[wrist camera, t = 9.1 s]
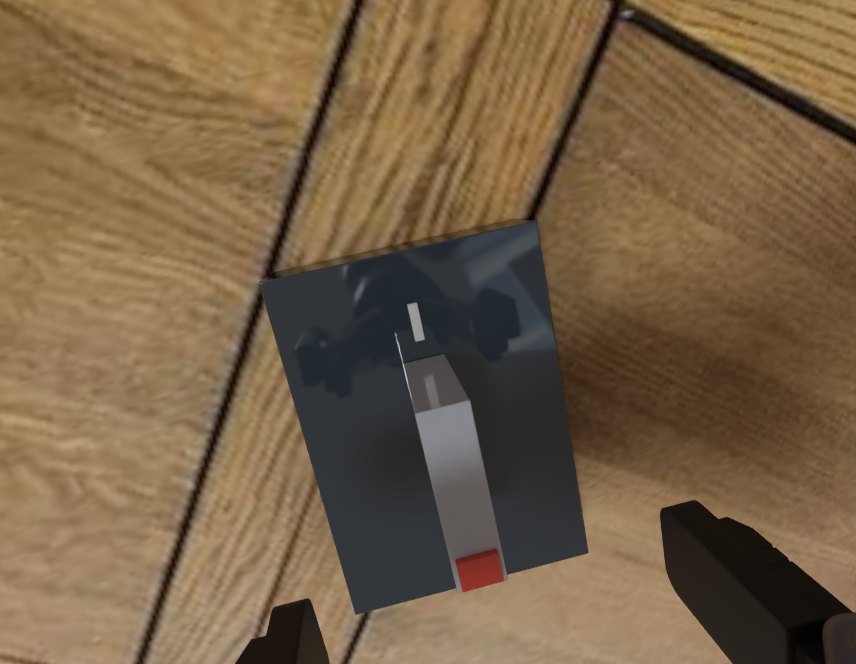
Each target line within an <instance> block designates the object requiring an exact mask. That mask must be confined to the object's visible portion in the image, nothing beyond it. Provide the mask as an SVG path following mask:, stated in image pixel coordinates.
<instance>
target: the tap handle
mask: <svg viewBox="0 0 856 664" xmlns="http://www.w3.org/2000/svg"><path fill="white" fill-rule="evenodd" d="M403 369H404V373H405V377H406V381H407V385H408V390H409V394H410V398H411V402H412V406H413V410H414V414H415V419H416V423H417V427H418V431H419V435H420V439H421V444H422V448H423V452H424V456H425V460H426V464H427V469H428V473H429V477H430V481H431V485H432V489H433V494H434V498H435V502H436V506H437V510H438V514H439V518H440V523H441V527H442V531H443V535H444V539H445V543H446V547H447V552H448V556H449V560H450V564H451V568H452V572H453V576H454V580H455V585H456V589H457V591H458V592H459V593H460V592H466V591H469V590H473V589H477V588H480V587H484V586H488V585H491V584H495V583H499V582H502V581H504V580H507V578H508V577H507V572H506V567H505V562H504V558H503V553H502V548H501V543H500V539H499V534H498V529H497V525H496V520H495V515H494V510H493V506H492V501H491V496H490V491H489V487H488V482H487V477H486V472H485V468H484V463H483V458H482V453H481V449H480V444H479V439H478V434H477V430H476V425H475V420H474V415H473V411H472V406H471V401H470V400H469V398H468V396H467V394H466V392H465V390H464V389H463V387H462V385H461V383H460V381H459V380H458V378H457V376H456V374H455V372H454V370H453V369H452V367H451V365H450V363H449V361H448V360H447V358H446V356H445V354H441V355H437V356H433V357H429V358H425V359H421V360H417V361H412V362H408V363H404V364H403Z"/></svg>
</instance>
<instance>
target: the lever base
mask: <svg viewBox="0 0 856 664" xmlns="http://www.w3.org/2000/svg"><path fill="white" fill-rule="evenodd" d="M259 284H260V288H261V291H262V295H263V298H264V301H265V305H266V308H267V312H268V315H269V319H270V322H271V326H272V329H273V332H274V336H275V339H276V343H277V346H278V350H279V353H280V357H281V360H282V363H283V367H284V370H285V374H286V377H287V381H288V384H289V388H290V391H291V394H292V398H293V401H294V405H295V408H296V412H297V415H298V419H299V422H300V425H301V429H302V432H303V436H304V439H305V443H306V446H307V449H308V453H309V456H310V460H311V463H312V467H313V470H314V474H315V477H316V480H317V484H318V487H319V491H320V494H321V498H322V501H323V505H324V508H325V511H326V515H327V518H328V522H329V525H330V529H331V532H332V536H333V539H334V542H335V546H336V549H337V553H338V556H339V560H340V563H341V567H342V570H343V573H344V577H345V580H346V584H347V587H348V591H349V594H350V597H351V601H352V604H353V608H354V611H355V614H356V615H357V614H361V613H365V612H368V611H372V610H376V609H380V608H383V607H387V606H391V605H395V604H399V603H402V602H406V601H410V600H414V599H417V598H421V597H425V596H429V595H433V594H436V593H440V592H444V591H448V590H451V589H455V588H456V585H455V580H454V576H453V572H452V568H451V564H450V560H449V556H448V552H447V547H446V543H445V539H444V535H443V531H442V527H441V523H440V518H439V514H438V510H437V506H436V502H435V498H434V494H433V489H432V485H431V481H430V477H429V473H428V469H427V464H426V460H425V456H424V452H423V448H422V444H421V439H420V435H419V431H418V427H417V423H416V419H415V414H414V410H413V406H412V402H411V398H410V394H409V390H408V385H407V381H406V377H405V373H404V369H403V364H404V363H408V362H412V361H417V360H421V359H425V358H429V357H433V356H437V355H441V354H445V356H446V358H447V360H448V361H449V363H450V365H451V367H452V369H453V370H454V372H455V374H456V376H457V378H458V380H459V381H460V383H461V385H462V387H463V389H464V390H465V392H466V394H467V396H468V398H469V400H470V401H471V406H472V411H473V415H474V420H475V425H476V430H477V434H478V439H479V444H480V449H481V453H482V458H483V463H484V468H485V472H486V477H487V482H488V487H489V491H490V496H491V501H492V506H493V510H494V515H495V520H496V525H497V529H498V534H499V539H500V543H501V548H502V553H503V558H504V562H505V567H506V572H507V575H508V574H512V573H516V572H519V571H523V570H527V569H531V568H534V567H538V566H542V565H546V564H549V563H553V562H557V561H561V560H565V559H568V558H572V557H576V556H580V555H583V554H587V553H588V546H587V540H586V533H585V527H584V520H583V514H582V508H581V501H580V495H579V488H578V482H577V476H576V469H575V463H574V456H573V450H572V444H571V437H570V431H569V424H568V418H567V412H566V405H565V399H564V392H563V386H562V380H561V373H560V367H559V360H558V354H557V348H556V341H555V335H554V328H553V322H552V315H551V309H550V303H549V296H548V290H547V283H546V277H545V271H544V264H543V258H542V251H541V245H540V239H539V232H538V226H537V221H533V220H518V219H512V220H508V221H503V222H498V223H494V224H489V225H485V226H480V227H476V228H471V229H467V230H462V231H458V232H453V233H449V234H444V235H440V236H435V237H431V238H426V239H422V240H417V241H413V242H408V243H404V244H399V245H395V246H390V247H386V248H381V249H377V250H372V251H368V252H363V253H359V254H354V255H350V256H345V257H341V258H336V259H332V260H327V261H323V262H318V263H314V264H309V265H305V266H300V267H296V268H291V269H286V270H282V271H277V272H274V273H272V274H271V275H269V276H268V277H267V278H265V279H264V280H262V281H261V282H259Z"/></svg>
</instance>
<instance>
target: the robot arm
mask: <svg viewBox="0 0 856 664" xmlns="http://www.w3.org/2000/svg"><path fill="white" fill-rule="evenodd" d="M660 521H661V530H662V539H663V549H664V558H665V566H666V571H667V574H668V577H669V580H670V582H671V584H672V586H673V588H674V590H675V592H676V593H677V595H678V596H679V597H680V599H681V600H682V601H683V602H684V604H685V605H686V606H687V607H688V609H689V610H690V611H691V612H692V614H693V615H694V616H695V617H696V619H697V620H698V621H699V622H700V624H701V625H702V626H703V627H704V629H705V630H706V631H707V632H708V634H709V635H710V636H711V637H712V639H713V640H714V641H715V642H716V644H717V645H718V646H719V647H720V649H721V650H722V651H723V652H724V654H725V655H726V656H727V657H728V659H729V660H730V661H731V662H732V664H856V613H853V612H852V611H851V610H850V609H848V608H847V607H846V606H845V605H844V604H842V603H841V602H840V601H839V600H838V599H837V598H835V597H834V596H833V595H832V594H831V593H829V592H828V591H827V590H826V589H825V588H823V587H822V586H821V585H820V584H819V583H817V582H816V581H815V580H814V579H813V578H811V577H810V576H809V575H808V574H807V573H805V572H804V571H803V570H802V569H801V568H799V567H798V566H797V565H796V564H795V563H793V562H792V561H791V562H790V561H789V560H788V558H787V557H786V556H785V555H784V554H783V553H781V552H780V551H779V550H778V549H777V548H773V546H772V544H771V543H770V542H768V541H767V540H766V539H765V538H764V537H762V536H761V535H760V534H759V533H758V532H756V531H755V530H754V529H753V528H751V527H748V526H746V525H744V524H742V523H740V522H737V521H735V520H733V519H731V518H729V517H725V518H721V519H718V518H716V517H715V516H714V515H713V514H712V513H711V512H710V511H709V510H707V509H706V508H705V507H704V506H703V505H702V504H701V503H699V502H698V501H695V500H692V501H688V502H685V503H681V504H677V505H673V506H669V507H665V508H662V509H661V512H660ZM235 664H330V663H329V658H328V654H327V650H326V647H325V644H324V641H323V638H322V634H321V631H320V628H319V625H318V621H317V618H316V615H315V612H314V609H313V606H312V603H311V601H310V600H309V599H308V598H307V599H303V600H299V601H295V602H291V603H288V604H284V605H280V606H276V607H274V608H273V610H272V613H271V617H270V621H269V625H268V630H267V634H266V636H263V637H259V638H256V639H252V640H251V641H250V642H249V644H248V645H247V647H246V648H245V650H244V651H243V653H242V654H241V656H240V657H239V659H238V660H237V661H236V663H235Z"/></svg>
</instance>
